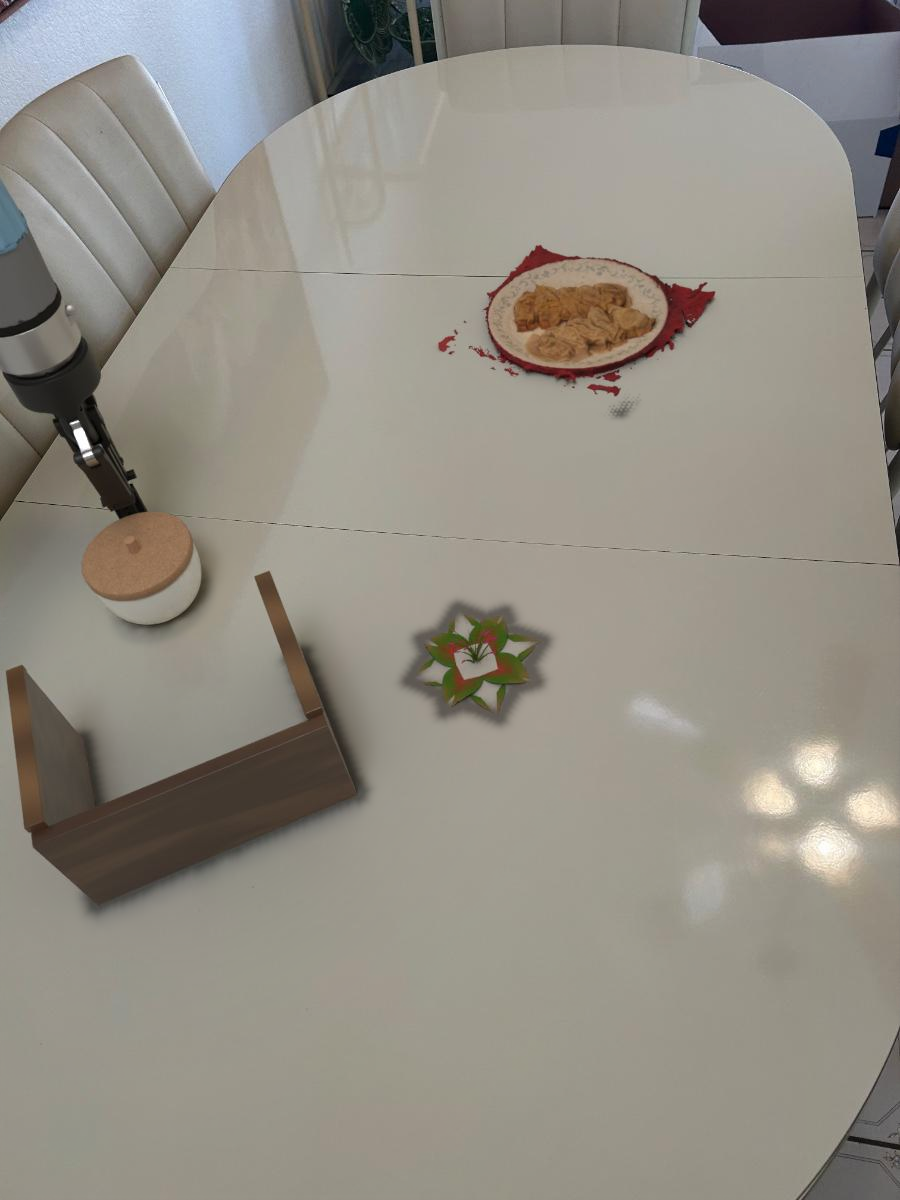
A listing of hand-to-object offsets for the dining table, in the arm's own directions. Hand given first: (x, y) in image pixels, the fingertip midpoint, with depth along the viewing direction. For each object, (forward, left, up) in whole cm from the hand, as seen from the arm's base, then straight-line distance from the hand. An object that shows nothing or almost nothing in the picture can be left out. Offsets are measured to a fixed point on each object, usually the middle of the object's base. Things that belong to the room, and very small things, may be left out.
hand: (144, 534), depth 99 cm
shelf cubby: (+17, -23, -2) cm, 29 cm away
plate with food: (+38, +43, -2) cm, 57 cm away
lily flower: (+38, -8, -2) cm, 39 cm away
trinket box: (+5, -7, -2) cm, 8 cm away
